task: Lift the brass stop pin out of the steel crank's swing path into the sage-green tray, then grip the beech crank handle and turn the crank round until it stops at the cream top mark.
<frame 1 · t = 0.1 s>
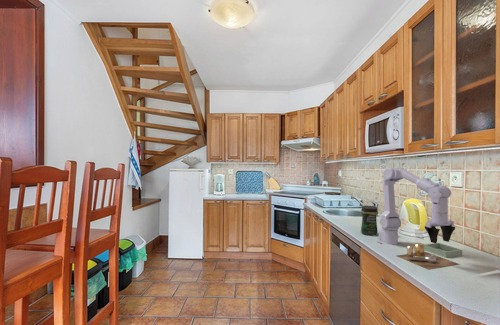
hand: (439, 241, 108), 10 cm above the counter, tool pointing down, fingers open, 7 cm apart
tray: (441, 254, 119), on the counter
coffee jar: (369, 234, 154), on the counter
crank base: (426, 261, 110), on the counter
crank: (421, 253, 109), point 4 cm above the counter, hinge at 0.0°
stop pin: (419, 256, 114), point 1 cm above the counter, touching crank base
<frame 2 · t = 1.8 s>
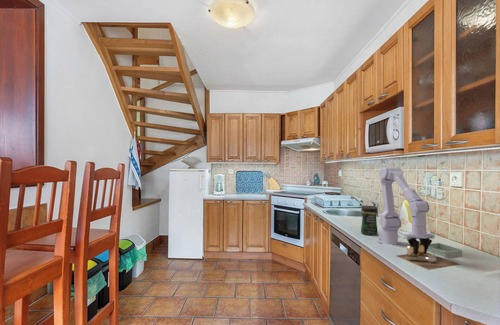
hand: (419, 253, 114), 2 cm above the counter, tool pointing down, fingers closed on stop pin, 4 cm apart
stop pin: (419, 256, 114), point 1 cm above the counter, touching crank base, gripper
everything else where it was.
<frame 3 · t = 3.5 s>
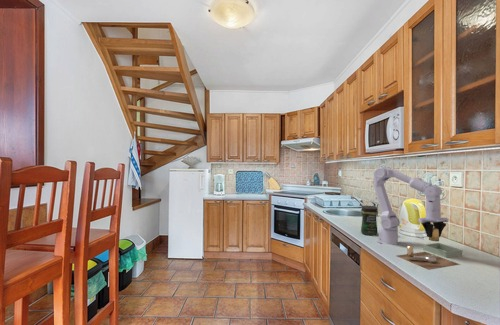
hand: (433, 236, 117), 9 cm above the counter, tool pointing down, fingers closed on stop pin, 4 cm apart
stop pin: (433, 240, 117), point 8 cm above the counter, touching gripper
everything else where it was.
when the fingers open (4 cm above the counter, at t = 5.4 s): stop pin drops 2 cm, resting on tray.
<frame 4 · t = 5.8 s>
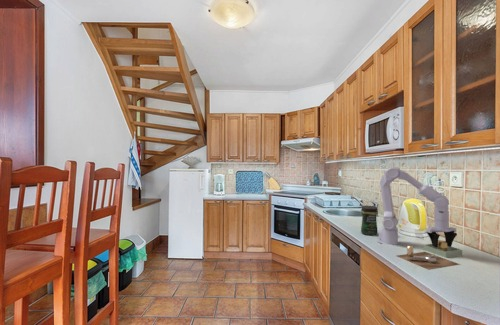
hand: (441, 246, 119), 4 cm above the counter, tool pointing down, fingers open, 7 cm apart
stop pin: (442, 253, 119), resting on tray
everything else where it was.
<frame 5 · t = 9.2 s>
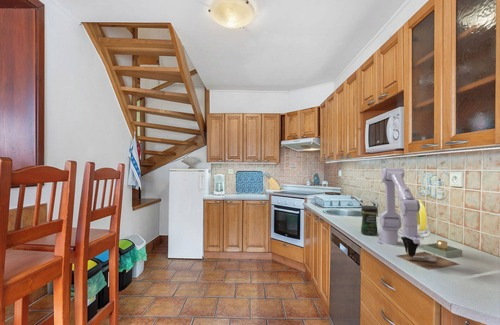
hand: (410, 254, 110), 4 cm above the counter, tool pointing down, fingers closed on crank, 2 cm apart
crank: (421, 253, 109), point 4 cm above the counter, hinge at 0.0°, touching gripper
everything else where it was.
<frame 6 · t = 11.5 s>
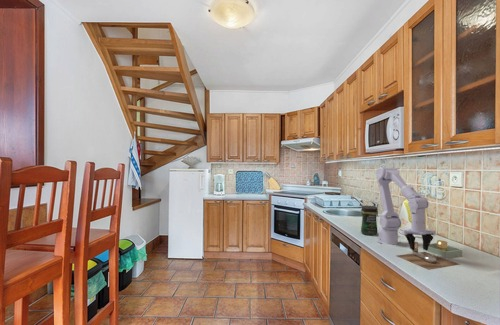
hand: (418, 249, 116), 4 cm above the counter, tool pointing down, fingers open, 6 cm apart
crank: (423, 251, 111), point 4 cm above the counter, hinge at 66.5°, touching gripper
everything else where it was.
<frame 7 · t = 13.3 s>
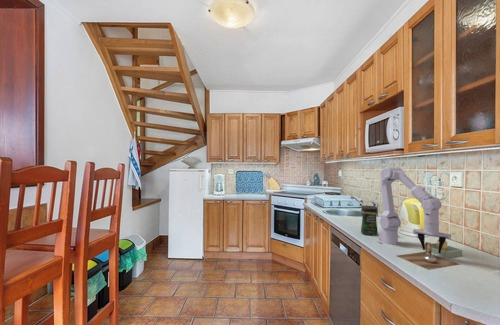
hand: (431, 251, 114), 4 cm above the counter, tool pointing down, fingers open, 5 cm apart
crank: (429, 252, 111), point 4 cm above the counter, hinge at 109.5°
everything else where it was.
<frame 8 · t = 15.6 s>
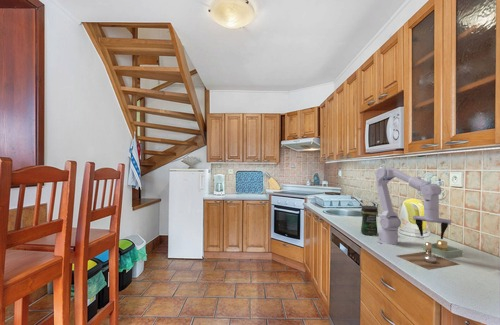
hand: (431, 237, 114), 10 cm above the counter, tool pointing down, fingers open, 7 cm apart
nothing on the counter moved.
at the end: stop pin inside the target area on the tray (0.2 cm from its centre), point 0.5 cm above the tray's base; crank at +110° (first picture: +0°) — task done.
